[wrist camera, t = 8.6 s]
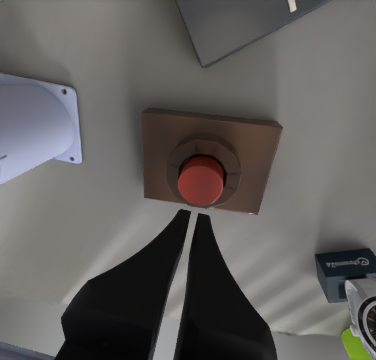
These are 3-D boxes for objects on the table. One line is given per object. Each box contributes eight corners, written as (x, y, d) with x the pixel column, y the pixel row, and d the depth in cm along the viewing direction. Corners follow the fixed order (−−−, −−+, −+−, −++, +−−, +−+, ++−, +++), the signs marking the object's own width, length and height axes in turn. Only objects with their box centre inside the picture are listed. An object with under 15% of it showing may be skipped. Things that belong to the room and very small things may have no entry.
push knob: (180, 189, 19) (176, 202, 18) (183, 153, 18) (178, 162, 16) (219, 195, 19) (219, 208, 17) (226, 158, 17) (226, 169, 16)
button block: (149, 188, 24) (136, 208, 21) (148, 107, 20) (132, 115, 16) (255, 204, 23) (260, 228, 20) (277, 121, 19) (290, 133, 15)
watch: (369, 235, 23) (476, 357, 13) (368, 284, 26) (454, 412, 16) (312, 242, 24) (370, 356, 15) (318, 288, 27) (369, 406, 18)
